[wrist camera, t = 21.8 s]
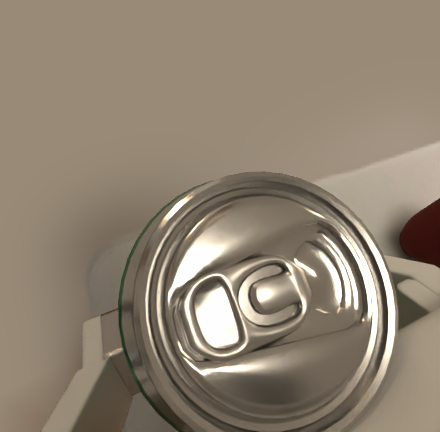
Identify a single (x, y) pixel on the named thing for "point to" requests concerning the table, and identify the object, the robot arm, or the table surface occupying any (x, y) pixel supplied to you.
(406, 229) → the mug
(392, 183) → the table surface
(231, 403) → the soda can
